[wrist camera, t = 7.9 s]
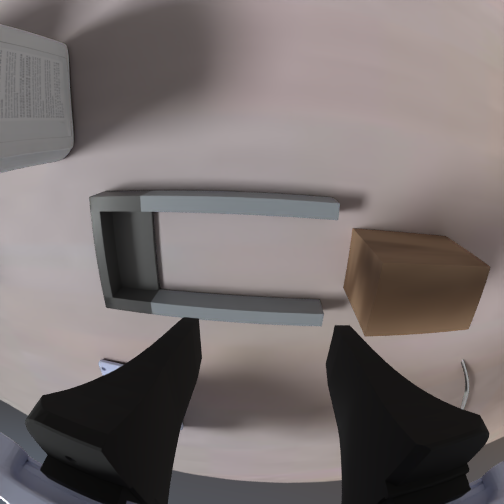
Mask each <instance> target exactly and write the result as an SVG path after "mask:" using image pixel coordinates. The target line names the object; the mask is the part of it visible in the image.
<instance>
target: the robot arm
mask: <svg viewBox="0 0 504 504" xmlns="http://www.w3.org/2000/svg"><path fill="white" fill-rule="evenodd" d="M201 359H202V353H201V341H200V328H199V318H190V317H183V318H182V319H181V320H180V321H179V322H177V323H176V324H175V325H174V326H173V327H172V328H171V329H170V330H169V331H167V332H166V333H165V334H164V335H163V336H162V337H161V338H159V339H158V340H157V341H156V342H155V343H153V344H152V345H151V346H150V347H149V348H147V349H146V350H145V351H143V352H142V353H141V354H139V355H138V356H137V357H135V358H134V359H132V360H131V361H129V362H128V363H126V364H119V363H115V362H110V361H106V360H100V361H99V367H100V369H101V372H102V375H103V376H101V377H99V378H97V379H95V380H93V381H90V382H88V383H85V384H83V385H80V386H77V387H74V388H71V389H67V390H64V391H60V392H56V393H51V394H47V395H43V396H42V397H41V398H40V400H39V401H38V403H37V404H36V405H35V407H34V408H33V410H32V411H31V413H30V414H29V416H28V417H27V419H26V420H25V425H26V427H27V430H28V431H29V433H30V434H31V436H32V437H33V438H34V439H35V441H36V442H37V443H38V444H39V445H40V446H41V448H42V449H43V450H44V451H45V452H46V453H47V455H48V456H47V457H46V459H45V461H44V463H43V464H42V463H39V462H38V461H36V460H35V459H33V458H31V457H29V456H28V454H27V453H26V452H25V450H24V449H23V448H22V447H21V446H20V445H18V444H17V443H16V442H15V441H13V440H12V439H10V438H9V437H7V436H6V435H4V434H3V433H1V432H0V498H1V499H3V500H4V501H5V502H6V503H7V504H168V496H169V488H170V481H171V474H172V468H173V463H174V457H175V452H176V447H177V442H178V437H179V433H180V430H182V429H183V422H182V421H183V418H184V416H185V413H186V410H187V407H188V404H189V401H190V399H191V396H192V393H193V390H194V387H195V384H196V381H197V378H198V374H199V369H200V364H201ZM326 370H327V380H328V387H329V391H330V396H331V400H332V404H333V409H334V413H335V417H336V422H337V426H338V432H339V438H340V450H341V467H342V504H504V461H502V462H500V463H498V464H497V465H495V466H494V467H492V468H491V469H490V470H489V471H487V472H486V473H485V474H484V475H483V476H482V478H480V479H477V480H475V481H473V482H471V483H468V480H467V477H466V473H468V472H469V467H468V465H467V462H469V461H470V460H471V459H472V458H473V457H474V456H475V455H476V453H478V451H480V449H481V448H482V447H483V446H484V445H485V444H486V442H487V440H488V438H489V431H488V430H487V428H486V426H485V424H484V422H483V420H482V418H481V416H480V415H478V414H475V413H472V412H469V411H466V410H463V409H460V408H457V407H455V406H453V405H450V404H448V403H446V402H444V401H442V400H440V399H438V398H436V397H434V396H432V395H431V394H429V393H427V392H425V391H424V390H422V389H420V388H419V387H417V386H416V385H414V384H413V383H411V382H410V381H409V380H407V379H406V378H405V377H403V376H402V375H401V374H399V373H398V372H397V371H396V370H394V369H393V368H392V367H391V366H390V365H389V364H388V363H386V362H385V361H384V360H383V359H382V358H381V357H380V356H379V355H378V354H377V353H376V352H375V351H374V350H373V349H372V348H371V347H370V346H369V345H368V344H367V343H366V342H365V341H364V340H363V339H362V338H361V337H360V336H359V335H358V334H357V333H356V331H355V330H354V329H353V328H352V327H351V326H350V325H335V327H334V332H333V336H332V341H331V345H330V349H329V353H328V357H327V361H326Z"/></svg>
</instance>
